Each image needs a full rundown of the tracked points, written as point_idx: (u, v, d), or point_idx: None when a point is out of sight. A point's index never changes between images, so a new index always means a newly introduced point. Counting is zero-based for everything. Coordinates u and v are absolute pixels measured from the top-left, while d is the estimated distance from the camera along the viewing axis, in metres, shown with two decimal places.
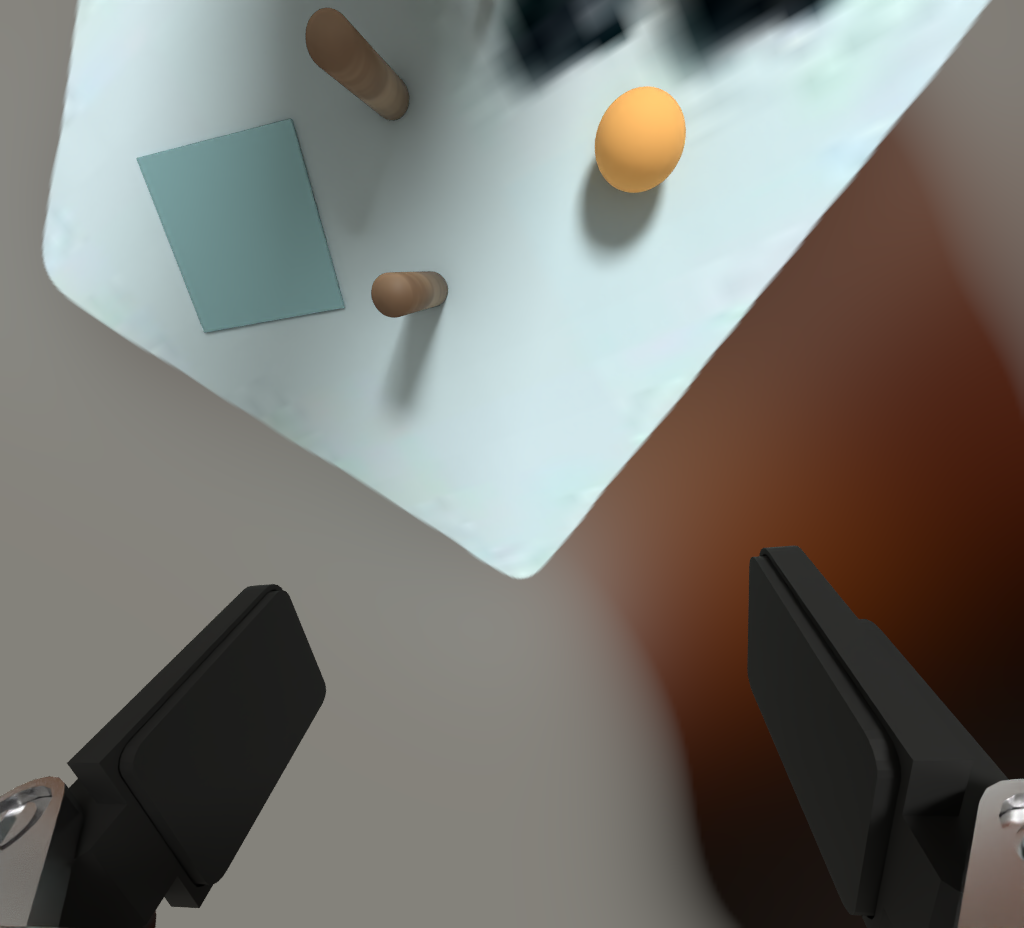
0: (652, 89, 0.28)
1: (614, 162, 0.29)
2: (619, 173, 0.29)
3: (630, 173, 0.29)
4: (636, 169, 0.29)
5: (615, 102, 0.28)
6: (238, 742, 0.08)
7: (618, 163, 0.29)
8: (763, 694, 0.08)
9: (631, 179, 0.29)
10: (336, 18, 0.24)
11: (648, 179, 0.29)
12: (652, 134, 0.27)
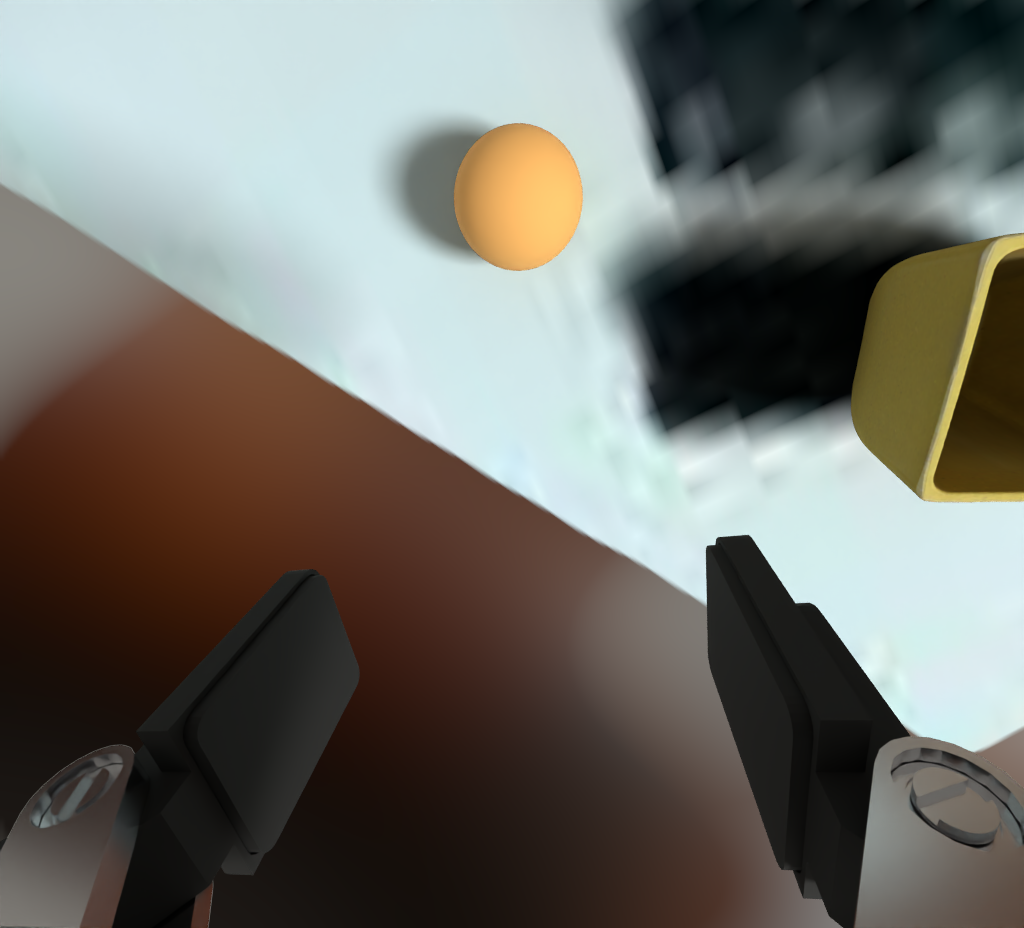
0: (571, 205, 0.19)
1: (478, 150, 0.18)
2: (466, 163, 0.19)
3: (463, 180, 0.19)
4: (467, 189, 0.19)
5: (561, 147, 0.19)
6: (285, 718, 0.08)
7: (475, 157, 0.18)
8: (719, 675, 0.09)
9: (459, 185, 0.19)
10: None
11: (460, 215, 0.20)
12: (506, 204, 0.18)
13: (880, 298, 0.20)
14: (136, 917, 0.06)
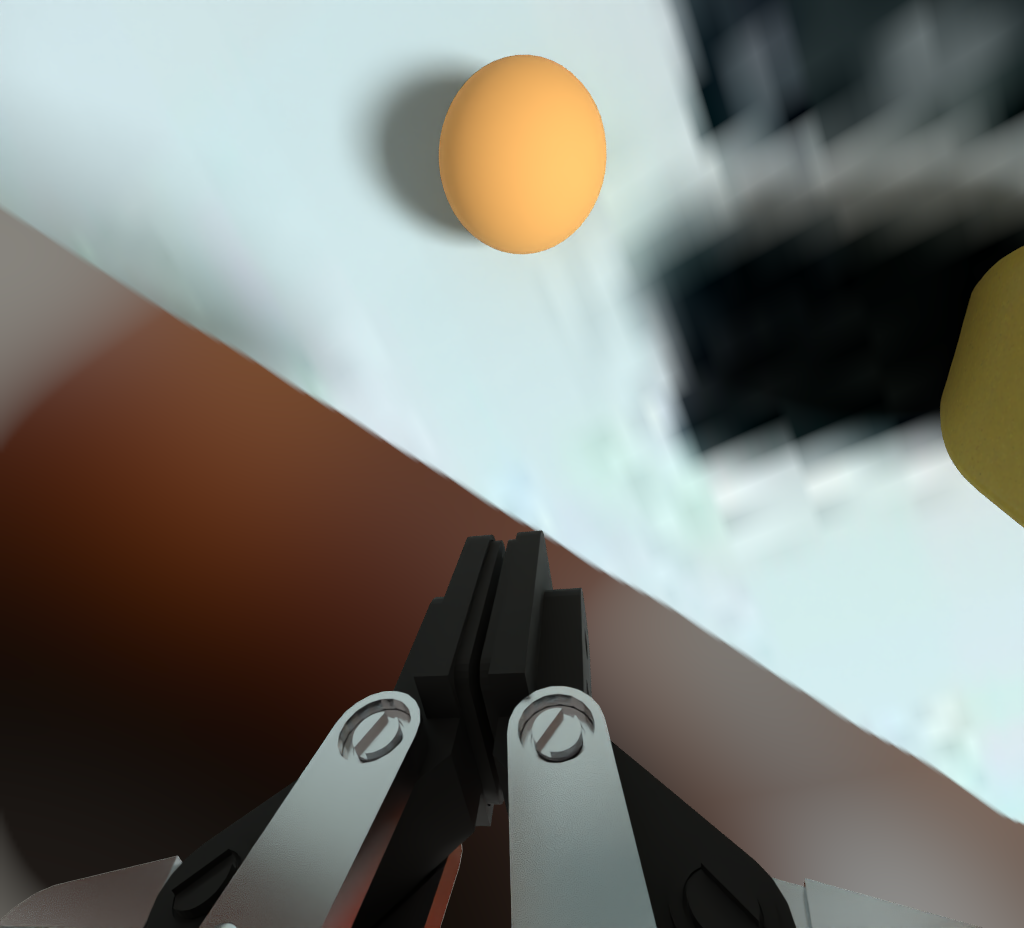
0: (591, 165, 0.14)
1: (468, 90, 0.14)
2: (452, 109, 0.14)
3: (449, 132, 0.14)
4: (454, 143, 0.14)
5: (580, 86, 0.14)
6: None
7: (465, 99, 0.14)
8: None
9: (443, 140, 0.14)
10: None
11: (446, 180, 0.15)
12: (505, 162, 0.13)
13: (998, 290, 0.15)
14: None
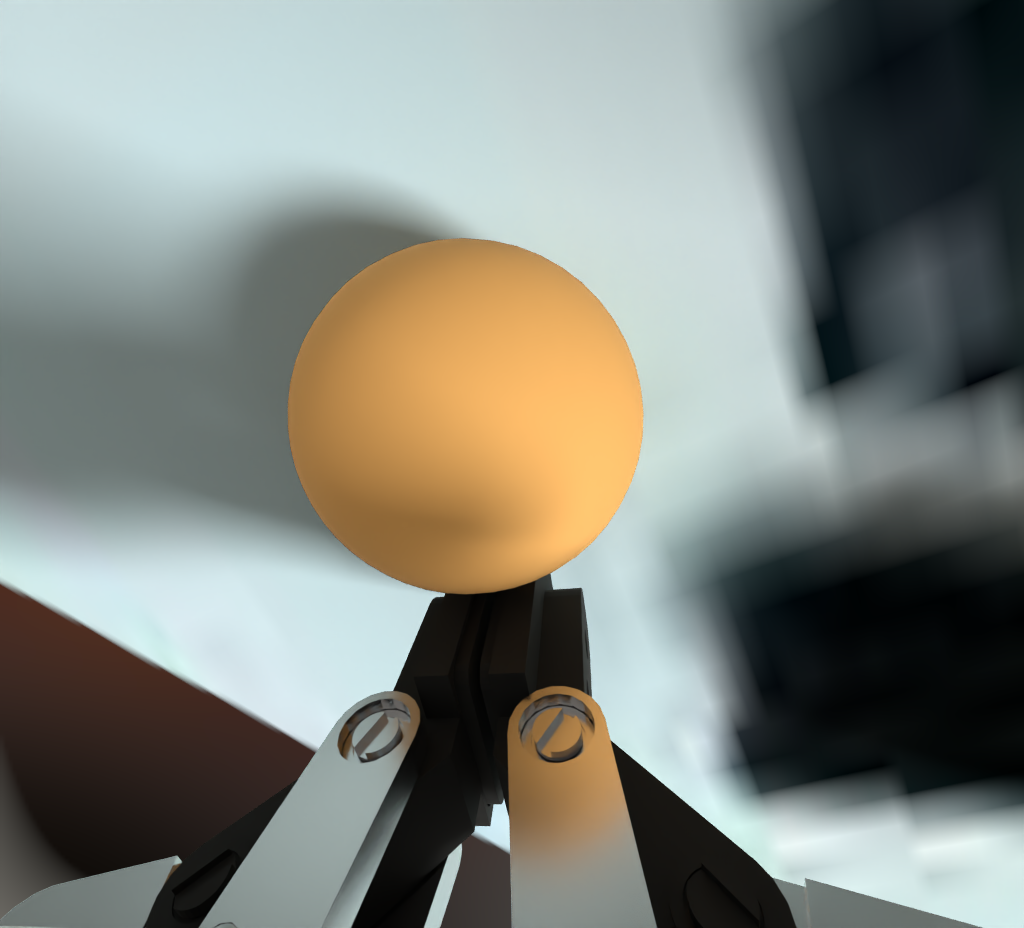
0: (612, 479, 0.06)
1: (337, 307, 0.06)
2: (308, 335, 0.06)
3: (294, 384, 0.06)
4: (296, 412, 0.06)
5: (595, 316, 0.06)
6: None
7: (327, 325, 0.06)
8: None
9: (289, 390, 0.07)
10: None
11: (294, 463, 0.07)
12: (395, 487, 0.05)
13: None
14: None
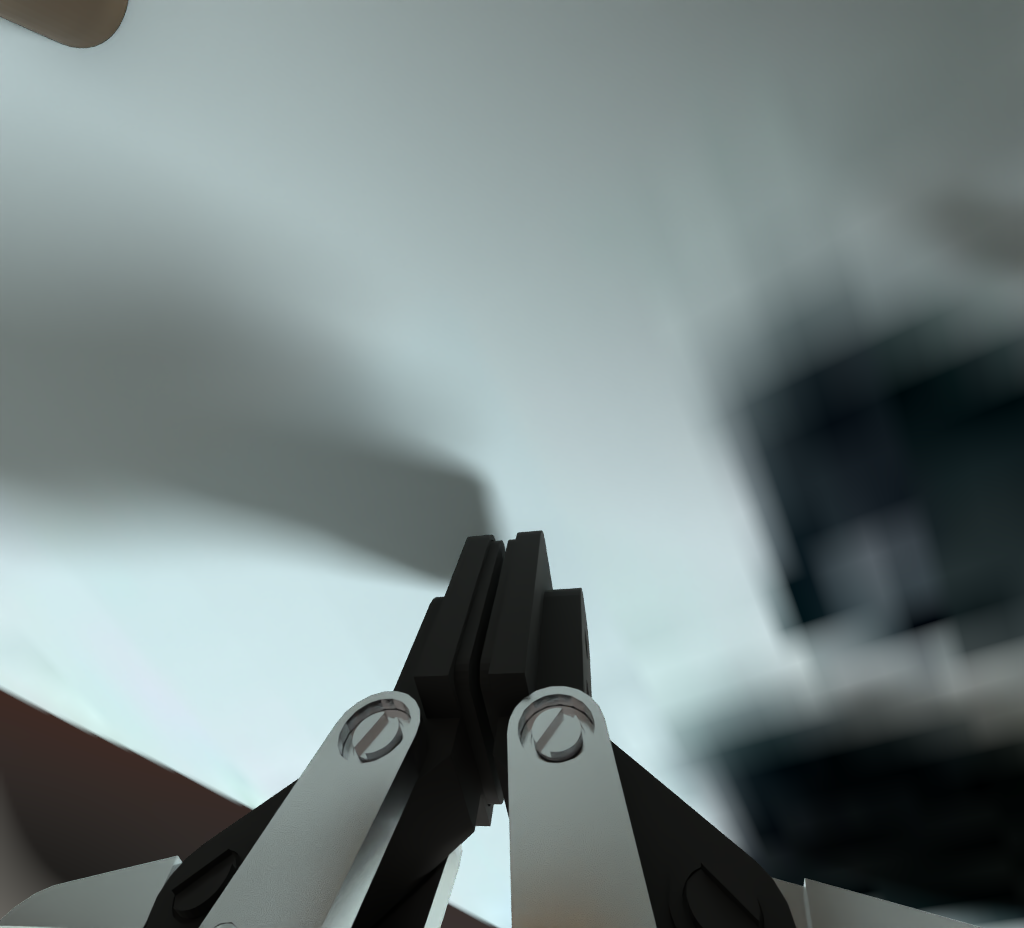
0: None
1: None
2: None
3: None
4: None
5: None
6: None
7: None
8: None
9: None
10: None
11: None
12: None
13: None
14: None
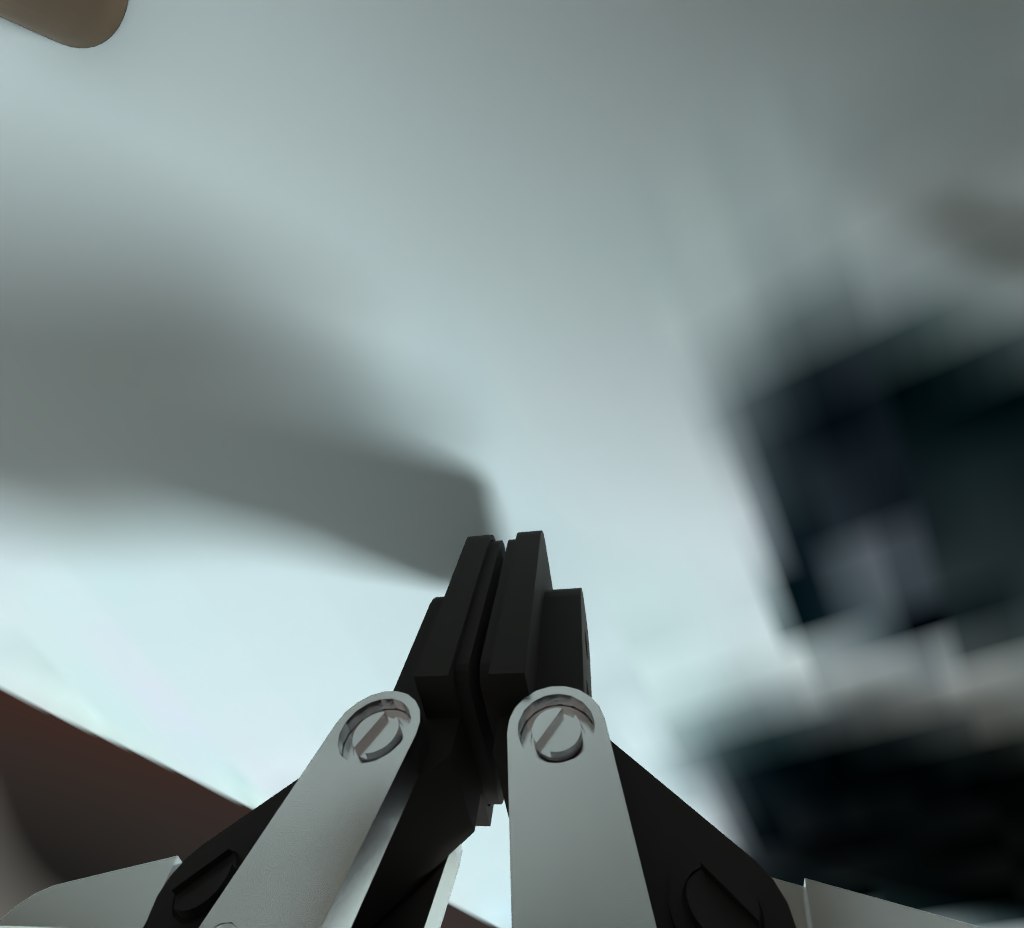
0: None
1: None
2: None
3: None
4: None
5: None
6: None
7: None
8: None
9: None
10: None
11: None
12: None
13: None
14: None
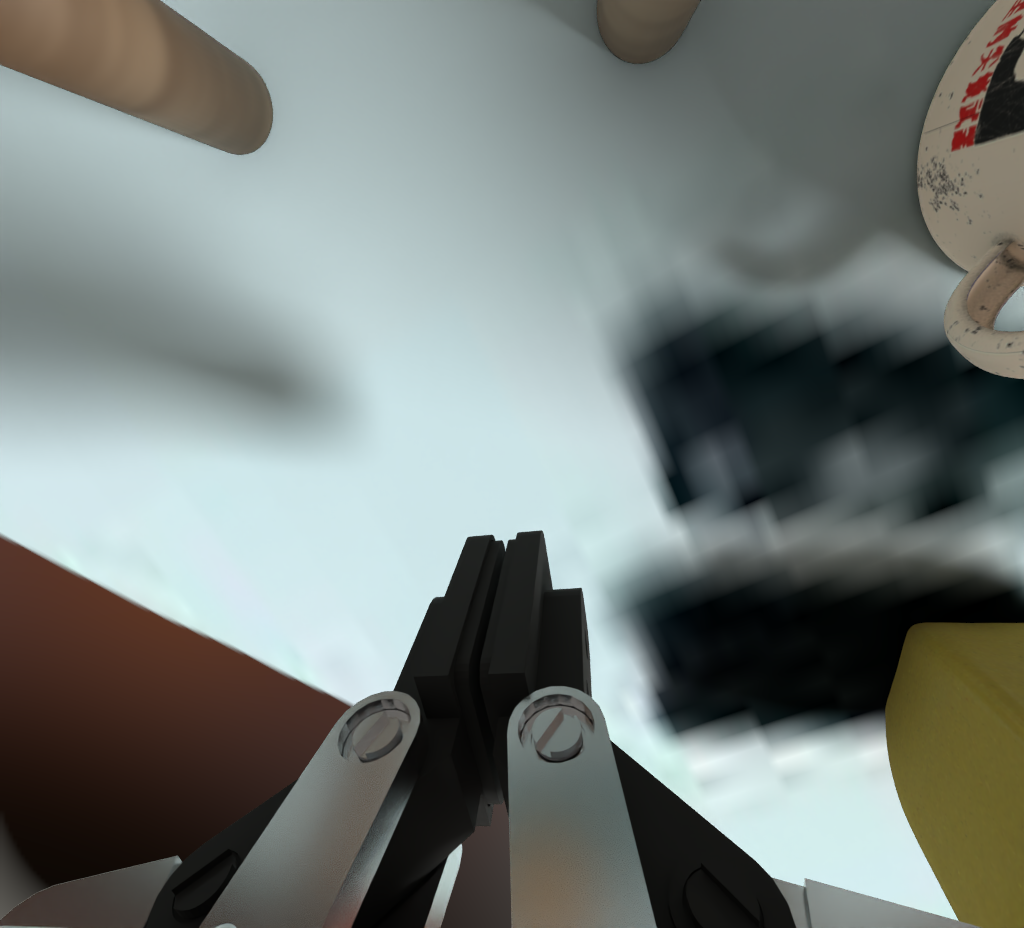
0: None
1: None
2: None
3: None
4: None
5: None
6: None
7: None
8: None
9: None
10: None
11: None
12: None
13: (928, 676, 0.17)
14: None
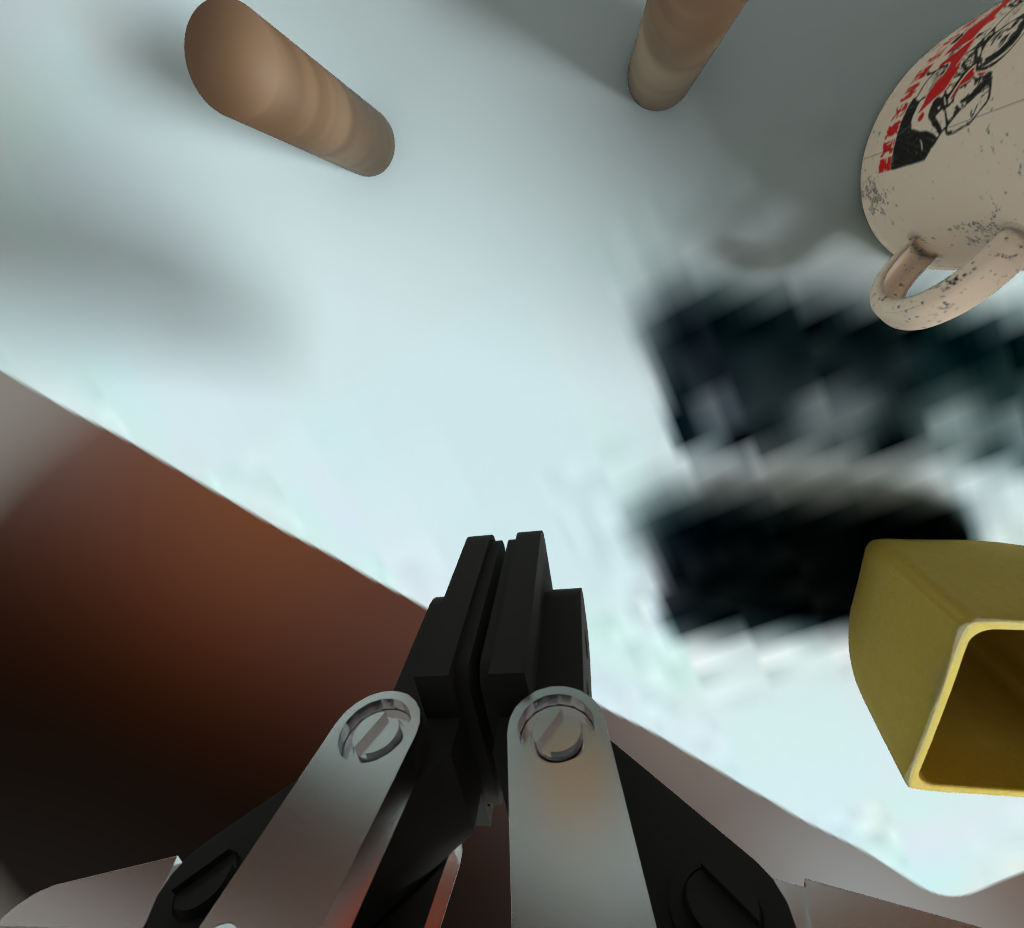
0: None
1: None
2: None
3: None
4: None
5: None
6: None
7: None
8: None
9: None
10: None
11: None
12: None
13: (874, 571, 0.23)
14: None
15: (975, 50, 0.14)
